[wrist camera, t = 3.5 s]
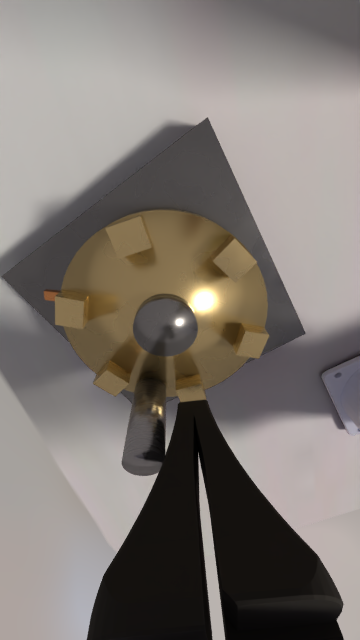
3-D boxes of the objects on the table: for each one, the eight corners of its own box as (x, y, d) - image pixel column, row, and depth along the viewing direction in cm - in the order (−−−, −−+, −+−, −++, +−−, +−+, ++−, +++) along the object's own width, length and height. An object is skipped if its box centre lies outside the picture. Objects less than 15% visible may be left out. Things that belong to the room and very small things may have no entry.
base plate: (203, 125, 11) (208, 116, 10) (294, 321, 16) (306, 334, 15) (17, 268, 14) (-1, 277, 12) (145, 397, 19) (142, 415, 17)
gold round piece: (73, 183, 10) (-19, 178, 5) (288, 235, 12) (379, 271, 7) (69, 371, 15) (18, 464, 10) (223, 393, 16) (248, 485, 11)
